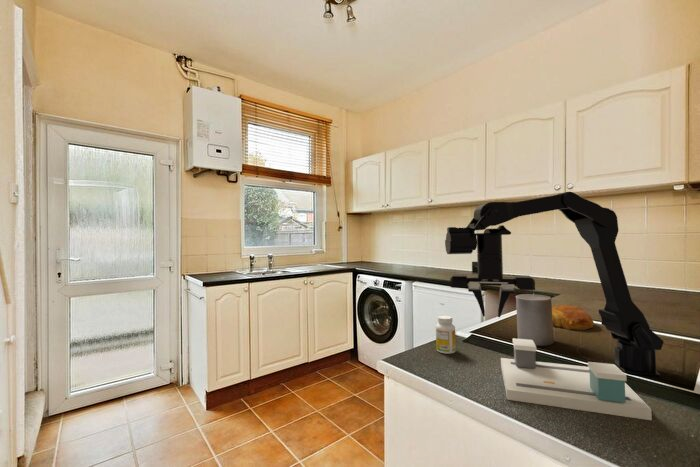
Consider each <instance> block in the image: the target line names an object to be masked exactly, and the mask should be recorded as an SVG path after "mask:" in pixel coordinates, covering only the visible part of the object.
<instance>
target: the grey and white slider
mask: <svg viewBox="0 0 700 467" xmlns="http://www.w3.org/2000/svg"><path fill="white" fill-rule="evenodd" d="M512 345H513V359H514V360H515V363H516V366H518V367H527V368H536V362H537V361H536V352H537V345H535V344H534V342H533V340H528V339H518V338H512Z"/></svg>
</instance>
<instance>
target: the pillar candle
mask: <svg viewBox="0 0 700 467" xmlns="http://www.w3.org/2000/svg"><path fill="white" fill-rule="evenodd" d="M515 300H516V301H515V302H516V303H515V304H516V328H517V330H516V331H517V339H528V340H533V342H534V344H535V346H536V347H537V346H538V347H541V346H545V347H546V346H551V345H553V344H554V341H555V340H554V326H553V320H552V306H553V305H552V304H553V303H552V297H551V296H549V295H544V294H535V292H533V293H532V294H531V293H522V294H517V295H516V296H515Z"/></svg>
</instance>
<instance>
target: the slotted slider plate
mask: <svg viewBox="0 0 700 467" xmlns="http://www.w3.org/2000/svg"><path fill="white" fill-rule="evenodd" d="M500 369H501V374H502V378H503V384H504V389H505V395H506V396H505V397H506V400H507V401H508V400H509V401H514V402H515V401H516V402H520V403H522V402H523V403H528V404H535V405H543V406H550V407H557V408H562V409H564V408H565V409H568V410H569V409H570V410H577V411H584V412H592V413H598V414H605V415H611V416H618V417H619V416H620V417H626V418H631V419H632V418H633V419H638V420H647V421H652V420H653V419H652V418H653V417H652V408H651V407H650V406H649V405H648V404H647V403H646V402H645V401H644V400H643V399H642V398H641V397H640V396H639V395H638V394H637V393H636V392H635V391H634V390H633V389H632V388H631V387H630V386H629V385H628V384H627V383H626V382H625V403H624V402H617V401H609V400H602V399H598V397H597V396H596V395H595V393H594V392H593V391H592V389H591V388H590V370H589V367H588V366H584V365H574V364H564V363H556V362H555V363H554V362H546V361H545V362H544V361H536V368H527V367H518V366H516V363H515V360H514V358H505V357H500Z"/></svg>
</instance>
